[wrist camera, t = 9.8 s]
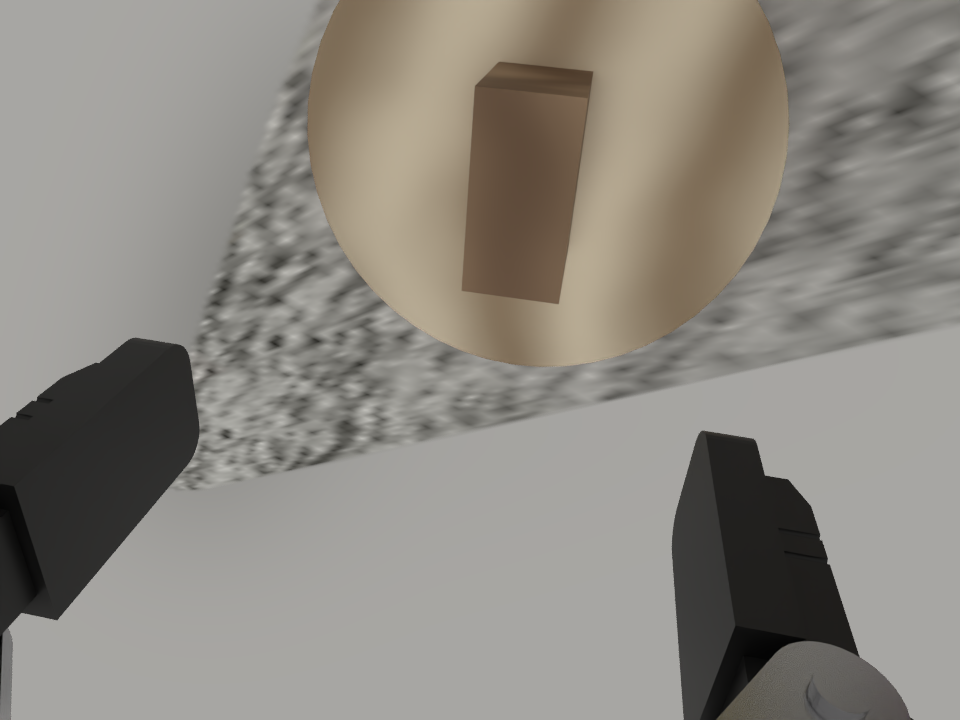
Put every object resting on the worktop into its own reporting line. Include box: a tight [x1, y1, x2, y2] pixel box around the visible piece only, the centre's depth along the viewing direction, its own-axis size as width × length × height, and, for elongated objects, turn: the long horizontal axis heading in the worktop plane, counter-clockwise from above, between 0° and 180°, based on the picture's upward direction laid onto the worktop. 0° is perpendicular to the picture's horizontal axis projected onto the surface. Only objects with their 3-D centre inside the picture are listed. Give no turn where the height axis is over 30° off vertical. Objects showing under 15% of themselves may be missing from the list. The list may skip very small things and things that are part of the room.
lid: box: [308, 0, 789, 367], centre depth 23 cm, size 16×16×6 cm
